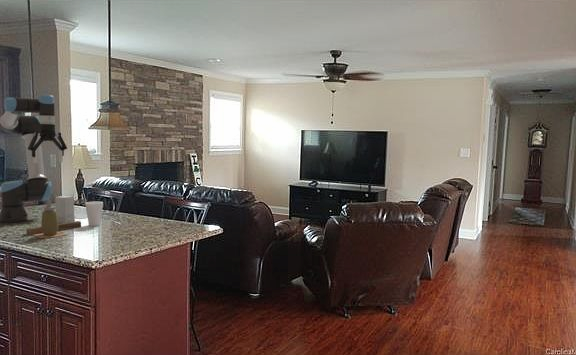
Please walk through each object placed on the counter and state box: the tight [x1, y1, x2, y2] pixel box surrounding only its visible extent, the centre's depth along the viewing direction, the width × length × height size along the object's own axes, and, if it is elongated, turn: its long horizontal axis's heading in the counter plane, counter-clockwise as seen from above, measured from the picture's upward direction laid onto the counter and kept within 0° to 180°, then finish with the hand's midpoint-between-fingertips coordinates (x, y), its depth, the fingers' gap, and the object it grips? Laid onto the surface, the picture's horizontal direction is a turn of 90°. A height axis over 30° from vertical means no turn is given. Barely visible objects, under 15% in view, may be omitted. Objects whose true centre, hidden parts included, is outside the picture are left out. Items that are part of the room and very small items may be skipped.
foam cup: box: [84, 201, 104, 227], centre depth 272 cm, size 10×9×13 cm
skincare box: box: [54, 195, 76, 224], centre depth 276 cm, size 8×7×16 cm
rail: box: [26, 220, 82, 240], centre depth 252 cm, size 16×28×3 cm, turn 142°
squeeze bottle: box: [40, 199, 59, 235], centre depth 244 cm, size 8×8×18 cm
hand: (48, 162), depth 259 cm, fingers open, 13 cm apart
